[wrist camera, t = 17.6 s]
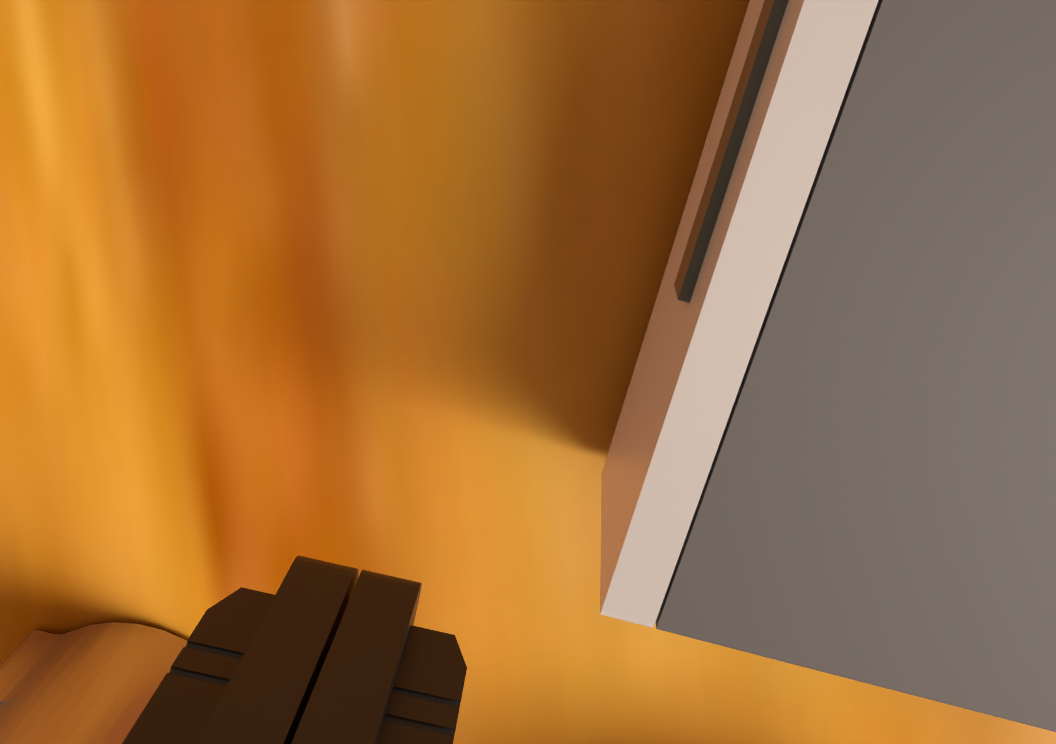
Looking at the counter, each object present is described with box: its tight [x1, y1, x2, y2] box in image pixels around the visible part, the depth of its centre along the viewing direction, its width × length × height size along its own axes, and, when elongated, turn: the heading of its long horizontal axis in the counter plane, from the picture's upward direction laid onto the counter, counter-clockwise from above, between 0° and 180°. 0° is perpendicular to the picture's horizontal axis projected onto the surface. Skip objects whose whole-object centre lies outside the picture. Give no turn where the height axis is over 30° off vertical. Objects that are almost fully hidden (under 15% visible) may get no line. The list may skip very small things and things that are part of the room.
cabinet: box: [656, 0, 1056, 732], centre depth 26 cm, size 16×18×9 cm
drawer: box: [600, 0, 878, 628], centre depth 25 cm, size 16×18×8 cm
